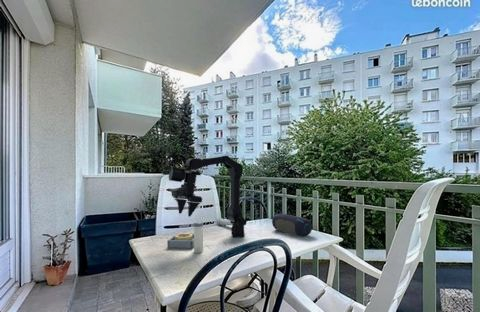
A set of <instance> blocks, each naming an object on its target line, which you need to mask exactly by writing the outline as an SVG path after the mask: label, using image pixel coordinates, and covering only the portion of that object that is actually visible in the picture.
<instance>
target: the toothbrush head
mask: <svg viewBox="0 0 480 312" xmlns="http://www.w3.org/2000/svg"><path fill="white" fill-rule="evenodd" d="M216 225H219V226H232V225H233V224H231V222H230V220H229V219H225V218H218V219H217V220H216Z"/></svg>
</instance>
